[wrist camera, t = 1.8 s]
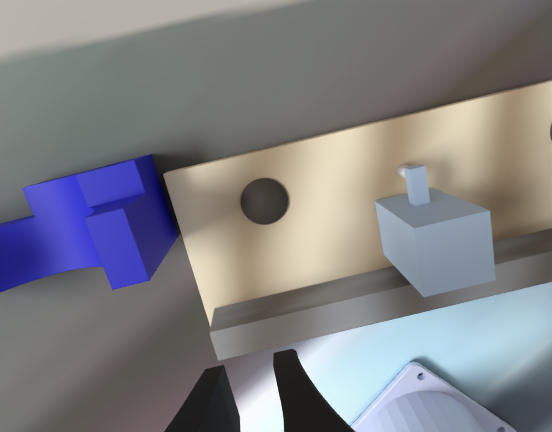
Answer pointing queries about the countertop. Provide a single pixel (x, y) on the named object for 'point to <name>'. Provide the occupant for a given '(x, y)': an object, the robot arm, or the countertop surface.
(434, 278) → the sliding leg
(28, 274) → the cable clip
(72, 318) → the countertop surface
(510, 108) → the board
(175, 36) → the countertop surface
